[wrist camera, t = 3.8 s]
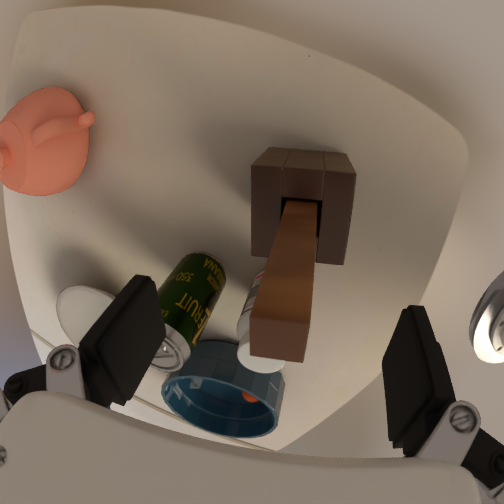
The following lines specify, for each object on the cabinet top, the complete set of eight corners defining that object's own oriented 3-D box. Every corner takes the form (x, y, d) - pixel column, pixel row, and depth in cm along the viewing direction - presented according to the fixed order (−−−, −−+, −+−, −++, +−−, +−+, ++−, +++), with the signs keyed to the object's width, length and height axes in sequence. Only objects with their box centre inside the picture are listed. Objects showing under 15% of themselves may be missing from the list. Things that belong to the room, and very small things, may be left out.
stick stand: (346, 153, 23) (356, 173, 17) (338, 225, 26) (343, 265, 20) (268, 147, 24) (251, 165, 18) (267, 218, 27) (251, 256, 22)
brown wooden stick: (317, 176, 25) (310, 324, 9) (316, 198, 26) (303, 363, 10) (294, 174, 25) (248, 316, 10) (293, 196, 26) (249, 356, 11)
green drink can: (199, 296, 34) (154, 375, 24) (172, 259, 32) (114, 333, 22) (237, 282, 32) (199, 369, 22) (210, 241, 30) (155, 320, 20)
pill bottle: (295, 313, 32) (283, 384, 24) (248, 300, 33) (223, 368, 24) (310, 274, 29) (302, 346, 21) (258, 259, 30) (232, 326, 22)
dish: (106, 242, 33) (82, 263, 29) (184, 325, 37) (169, 353, 33) (63, 296, 41) (45, 314, 37) (122, 356, 45) (108, 377, 41)
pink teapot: (27, 108, 26) (-35, 127, 17) (100, 60, 22) (23, 63, 14) (49, 193, 32) (-8, 227, 23) (125, 168, 28) (56, 204, 19)
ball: (265, 379, 38) (261, 396, 36) (265, 390, 40) (261, 407, 37) (244, 375, 39) (239, 392, 36) (244, 387, 40) (240, 403, 38)
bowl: (290, 347, 35) (282, 390, 30) (280, 411, 43) (274, 445, 38) (169, 327, 38) (148, 362, 32) (187, 393, 46) (174, 423, 40)
